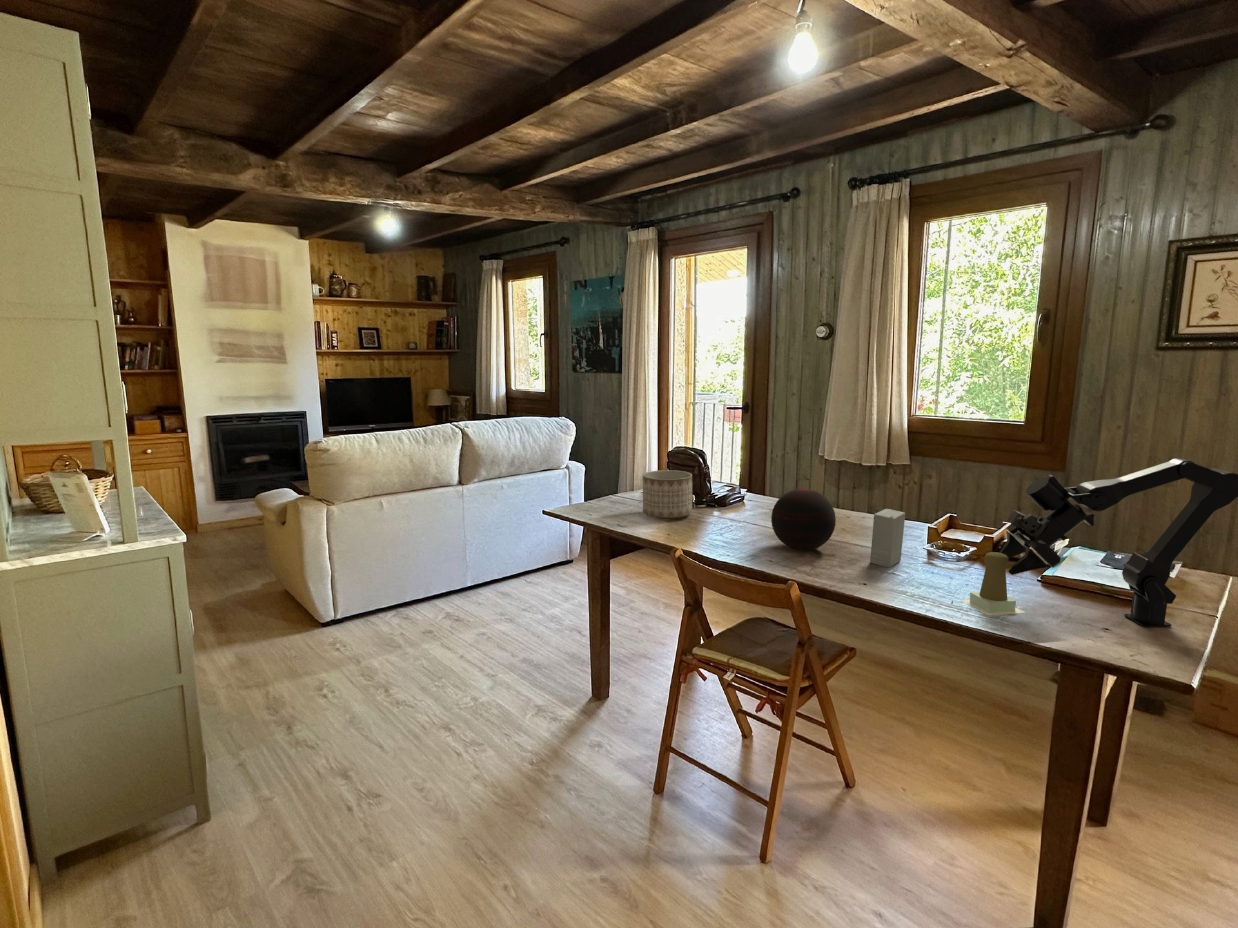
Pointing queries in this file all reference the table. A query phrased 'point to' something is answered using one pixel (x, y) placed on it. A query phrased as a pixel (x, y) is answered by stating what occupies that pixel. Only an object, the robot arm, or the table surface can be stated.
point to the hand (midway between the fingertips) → (1003, 566)
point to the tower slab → (991, 612)
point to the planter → (667, 494)
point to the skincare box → (887, 537)
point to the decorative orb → (803, 519)
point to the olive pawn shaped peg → (995, 577)
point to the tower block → (992, 603)
